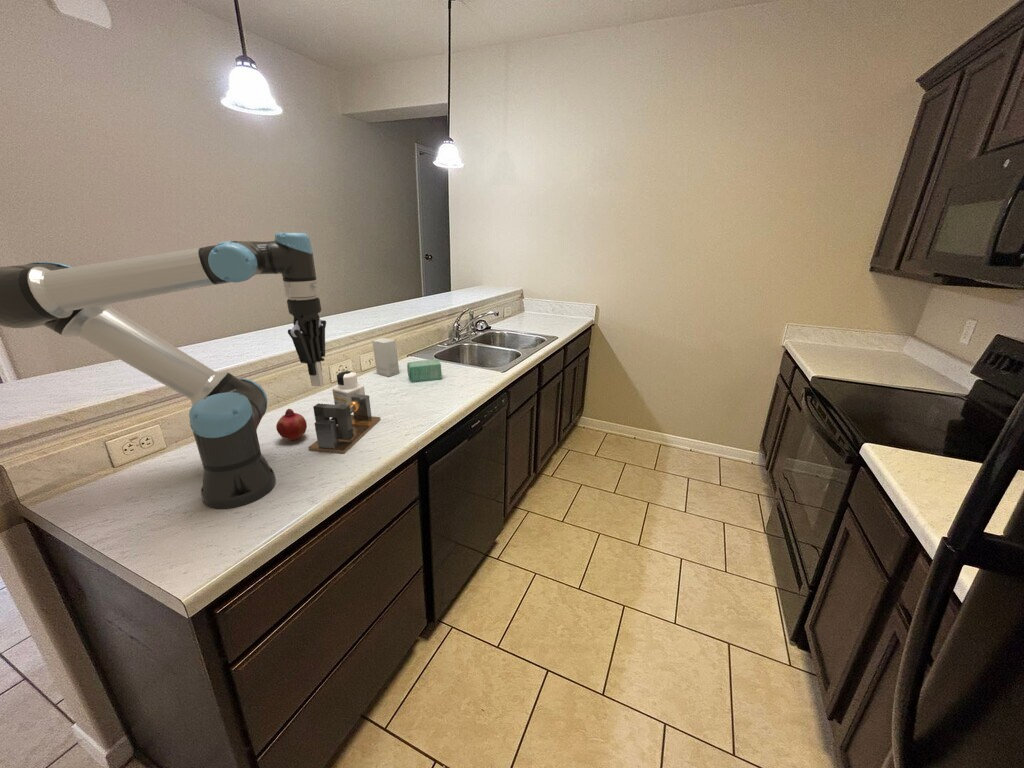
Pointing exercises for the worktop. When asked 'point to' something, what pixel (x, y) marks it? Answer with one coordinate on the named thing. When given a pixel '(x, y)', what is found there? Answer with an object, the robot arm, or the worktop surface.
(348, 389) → the container
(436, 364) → the box
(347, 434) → the collar
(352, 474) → the worktop surface
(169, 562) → the worktop surface
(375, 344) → the skincare box
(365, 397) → the pipe rig
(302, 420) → the fruit
